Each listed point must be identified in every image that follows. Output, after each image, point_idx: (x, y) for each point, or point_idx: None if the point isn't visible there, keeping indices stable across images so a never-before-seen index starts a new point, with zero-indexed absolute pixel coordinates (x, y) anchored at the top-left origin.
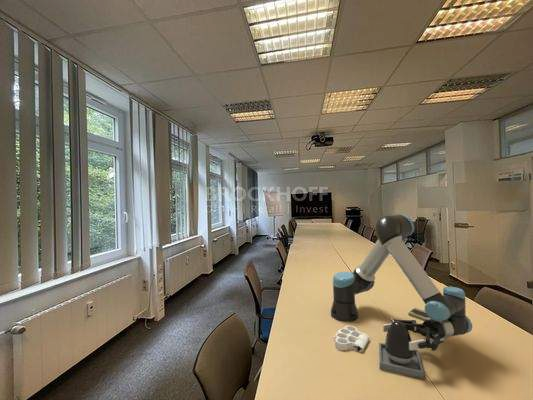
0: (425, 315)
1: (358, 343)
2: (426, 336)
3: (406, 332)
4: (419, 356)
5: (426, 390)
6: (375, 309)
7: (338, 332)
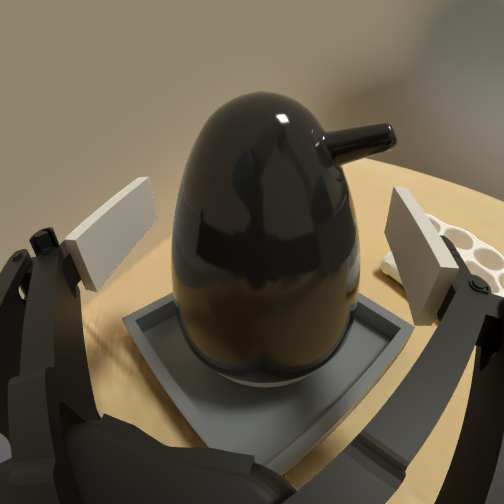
0: None
1: None
2: (48, 303)
3: (186, 163)
4: (195, 429)
5: (113, 301)
6: None
7: (475, 238)
